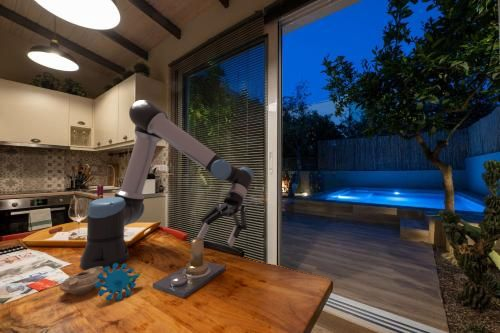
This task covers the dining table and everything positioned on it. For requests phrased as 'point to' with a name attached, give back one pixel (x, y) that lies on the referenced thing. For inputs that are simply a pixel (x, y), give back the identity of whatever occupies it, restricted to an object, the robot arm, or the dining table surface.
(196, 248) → the metal knob
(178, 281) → the carrier plate
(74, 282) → the pottery oil lamp
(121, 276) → the gear
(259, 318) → the dining table surface
